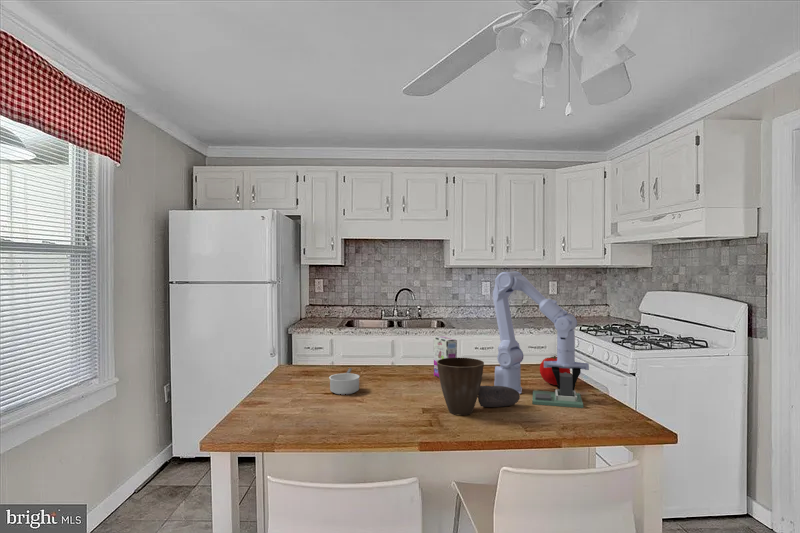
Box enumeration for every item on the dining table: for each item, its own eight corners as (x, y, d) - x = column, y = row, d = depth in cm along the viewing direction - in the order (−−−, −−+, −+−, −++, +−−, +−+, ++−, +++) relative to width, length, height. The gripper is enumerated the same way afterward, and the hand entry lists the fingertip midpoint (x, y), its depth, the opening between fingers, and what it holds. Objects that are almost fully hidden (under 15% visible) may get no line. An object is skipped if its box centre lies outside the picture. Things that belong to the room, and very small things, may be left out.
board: (532, 404, 162) (532, 396, 162) (532, 393, 175) (532, 386, 175) (583, 408, 157) (583, 400, 157) (579, 396, 171) (579, 389, 170)
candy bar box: (457, 380, 194) (457, 339, 194) (446, 381, 192) (446, 340, 192) (443, 374, 204) (443, 335, 204) (433, 375, 202) (433, 336, 202)
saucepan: (364, 382, 193) (364, 368, 193) (357, 396, 173) (357, 380, 173) (336, 381, 193) (336, 368, 193) (326, 396, 173) (326, 380, 173)
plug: (560, 396, 163) (560, 376, 163) (559, 391, 169) (559, 371, 169) (572, 397, 162) (572, 377, 162) (571, 392, 168) (571, 372, 168)
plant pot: (429, 407, 159) (429, 359, 158) (469, 402, 164) (469, 355, 164) (450, 421, 145) (449, 368, 144) (493, 415, 150) (492, 364, 150)
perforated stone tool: (517, 403, 163) (517, 382, 163) (522, 407, 158) (522, 386, 158) (473, 404, 162) (473, 384, 161) (478, 409, 156) (478, 388, 156)
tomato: (575, 388, 181) (575, 358, 181) (544, 388, 181) (544, 358, 181) (564, 380, 193) (564, 352, 193) (535, 380, 193) (535, 352, 193)
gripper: (543, 351, 163) (543, 390, 163) (589, 353, 159) (589, 394, 159) (543, 347, 170) (543, 385, 170) (587, 349, 166) (587, 388, 166)
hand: (565, 389), depth 165 cm, fingers closed on plug, 4 cm apart
